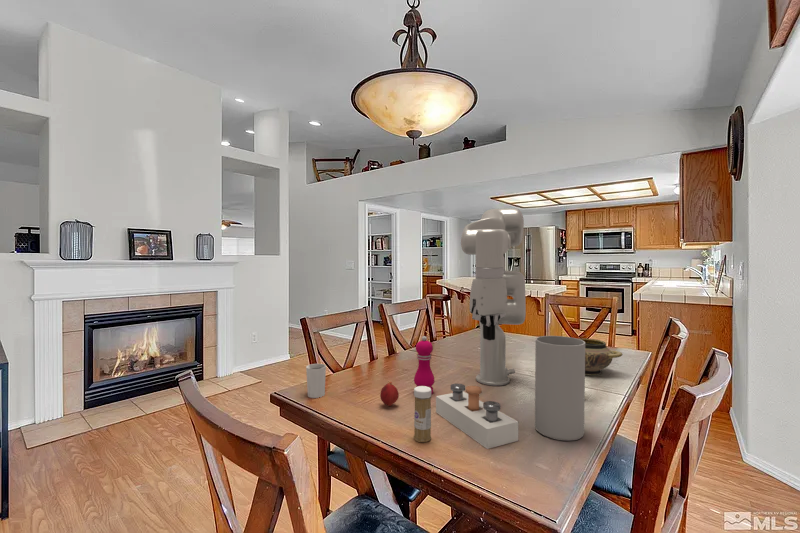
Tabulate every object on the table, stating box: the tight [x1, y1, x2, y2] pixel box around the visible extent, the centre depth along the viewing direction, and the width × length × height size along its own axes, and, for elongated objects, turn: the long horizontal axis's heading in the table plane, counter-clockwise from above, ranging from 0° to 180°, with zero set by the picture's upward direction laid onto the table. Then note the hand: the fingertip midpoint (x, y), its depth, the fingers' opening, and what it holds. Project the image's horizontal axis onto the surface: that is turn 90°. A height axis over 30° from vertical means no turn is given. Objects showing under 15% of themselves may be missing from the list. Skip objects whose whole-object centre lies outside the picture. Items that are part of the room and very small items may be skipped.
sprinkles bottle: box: [413, 386, 432, 443], centre depth 101 cm, size 5×5×14 cm
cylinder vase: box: [534, 335, 586, 442], centre depth 106 cm, size 12×12×25 cm
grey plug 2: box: [483, 400, 501, 423], centre depth 102 cm, size 4×4×8 cm
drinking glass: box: [305, 363, 327, 399], centre depth 133 cm, size 7×7×10 cm
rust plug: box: [465, 385, 483, 412], centre depth 109 cm, size 4×4×8 cm
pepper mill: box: [413, 335, 436, 395], centre depth 135 cm, size 7×7×20 cm
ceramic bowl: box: [579, 338, 623, 376], centre depth 159 cm, size 24×18×15 cm
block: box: [435, 391, 519, 450], centre depth 109 cm, size 10×25×5 cm, turn 25°
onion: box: [379, 380, 400, 407], centre depth 123 cm, size 6×6×8 cm
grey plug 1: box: [450, 383, 466, 402], centre depth 117 cm, size 4×4×8 cm
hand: (489, 339), depth 108 cm, fingers closed
